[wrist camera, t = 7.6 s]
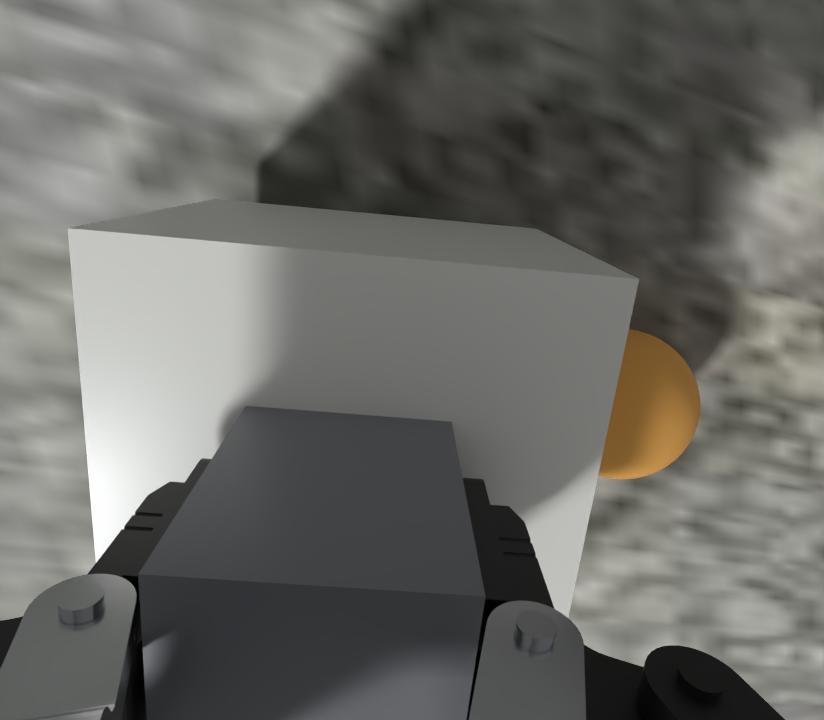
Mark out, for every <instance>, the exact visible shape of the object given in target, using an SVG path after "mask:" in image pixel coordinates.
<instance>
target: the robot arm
mask: <svg viewBox="0 0 824 720" xmlns="http://www.w3.org/2000/svg"><path fill="white" fill-rule="evenodd" d="M210 461H211V459H206V458H202V459H200V461H199V462H198V463H197V465H196V466H195V468H194V469H193V471H192V472H191V474H190V475H189V477H188V478H187V480H186V481H185V483H184V482H168V483H167V484H165V485H163V486H162V487H160V488H159V489H157V490H155V491H154V492H152V493H150V494H149V495H148V496H147V497H146V498H145V500H144V501H143V502H142V503H141V505H140V506H139V507H138V509H137V510H136V511H135V515H132V517H131V518H130V519H129V521H128V522H127V523H126V524H125V527H124V529H122V530H121V531H120V532H119V534H118V535H117V536H116V538H115V539H114V540H113V542H112V543H111V544H110V546H109V547H108V548H107V549H106V551H105V552H104V553H103V555H102V556H101V557H100V559H99V560H98V561H97V563H96V564H95V565H94V567H93V568H92V569H91V570H90V572H89V573H88V574H87V575H82V576H78V577H74V578H71V579H68V580H65V581H62V582H60V583H58V584H56V585H54V586H52V587H50V588H48V589H47V590H45V591H44V592H43V593H41V594H40V595H39V596H37V597H36V598H35V599H34V600H33V601H32V603H31V604H30V605H29V606H28V608H27V610H26V611H25V613H24V616H23V617H19V618H14V619H9V620H3V621H0V720H147V716H146V699H145V682H144V665H143V648H142V631H141V614H140V597H139V580H138V574H139V572H140V570H141V569H142V567H143V566H144V564H145V563H146V561H147V559H148V558H149V556H150V555H151V553H152V552H153V550H154V549H155V547H156V545H157V544H158V542H159V541H160V539H161V538H162V536H163V534H164V533H165V531H166V530H167V528H168V527H169V525H170V523H171V522H172V520H173V519H174V517H175V516H176V514H177V513H178V511H179V509H180V508H181V506H182V505H183V503H184V502H185V500H186V498H187V497H188V495H189V494H190V492H191V491H192V489H193V487H194V486H195V484H196V483H197V481H198V480H199V478H200V476H201V475H202V473H203V472H204V470H205V469H206V467H207V466H208V464H209V462H210ZM463 483H464V488H465V493H466V499H467V504H468V509H469V514H470V519H471V524H472V529H473V534H474V540H475V545H476V550H477V555H478V560H479V565H480V570H481V576H482V581H483V586H484V591H485V596H486V597H485V603H484V610H483V616H482V623H481V629H480V635H479V642H478V648H477V655H476V661H475V667H474V674H473V680H472V687H471V693H470V699H469V706H468V712H467V719H466V720H785V719H784V718H783V717H782V716H780V715H779V714H778V713H777V712H776V711H775V710H774V709H773V708H772V707H771V706H770V705H769V704H768V703H767V702H766V701H765V700H764V699H763V698H762V697H761V696H760V695H759V694H758V693H757V692H756V691H755V690H754V689H752V688H751V687H750V686H749V685H748V684H747V683H746V682H745V681H744V680H743V679H742V678H741V677H740V676H739V675H738V674H737V673H736V672H734V671H733V670H732V669H731V668H730V667H728V666H727V665H726V664H724V663H723V662H721V661H720V660H718V659H716V658H714V657H713V656H711V655H708V654H706V653H704V652H701V651H699V650H696V649H693V648H689V647H684V646H663V647H660V648H657V649H655V650H654V651H652V652H651V653H650V654H649V655H648V657H647V659H646V661H645V665H644V667H641V666H638V665H634V664H631V663H628V662H625V661H621V660H618V659H615V658H612V657H609V656H606V655H603V654H601V653H598V652H596V651H594V650H592V649H590V648H588V647H587V646H585V645H584V643H583V639H582V636H581V633H580V632H579V630H578V628H577V627H576V626H575V625H574V623H573V622H572V621H571V620H570V619H568V618H567V617H566V616H565V615H563V614H562V613H561V612H559V611H557V610H555V609H554V606H553V603H552V600H551V597H550V594H549V591H548V588H547V585H546V583H545V580H544V577H543V574H542V571H541V568H540V565H539V562H538V559H537V558H536V553H535V551H534V548H533V545H532V543H531V539H530V536H529V533H528V530H527V527H526V524H525V522H524V521H523V520H522V519H521V518H520V517H519V516H518V515H517V514H516V513H515V512H514V511H513V510H512V509H511V508H510V507H509V506H501V505H490V502H489V498H488V494H487V490H486V486H485V482H484V480H483V479H474V478H463Z"/></svg>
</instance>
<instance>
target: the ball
mask: <svg viewBox="0 0 824 720" xmlns="http://www.w3.org/2000/svg"><path fill="white" fill-rule="evenodd" d="M699 416H700V395H699V390H698V386H697V383H696V380H695V377H694V375H693V373H692V371H691V369H690V367H689V366H688V364H687V363H686V362H685V360H684V359H683V358H682V357H681V356H680V354H679V353H678V352H677V351H675V350H674V349H673V348H672V347H671V346H669V345H668V344H667V343H665V342H664V341H662V340H661V339H659V338H657V337H655V336H653V335H650V334H647V333H644V332H641V331H637V330H632V329H629V331H628V335H627V340H626V345H625V350H624V354H623V359H622V364H621V369H620V373H619V378H618V383H617V388H616V392H615V397H614V402H613V407H612V411H611V416H610V421H609V426H608V431H607V435H606V440H605V445H604V450H603V454H602V459H601V464H600V469H599V473H598V476H602V477H606V478H612V479H633V478H639V477H643V476H647V475H650V474H652V473H655V472H657V471H659V470H661V469H663V468H665V467H666V466H668V465H669V464H671V463H672V462H673V461H675V460H676V459H677V458H678V457H679V456H680V455H681V454H682V453H683V451H684V450H685V449H686V447H687V446H688V445H689V443H690V442H691V440H692V438H693V436H694V434H695V431H696V428H697V425H698V421H699Z"/></svg>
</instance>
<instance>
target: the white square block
mask: <svg viewBox="0 0 824 720" xmlns="http://www.w3.org/2000/svg"><path fill="white" fill-rule="evenodd" d="M68 237H69V249H70V261H71V272H72V284H73V296H74V308H75V320H76V332H77V343H78V355H79V367H80V379H81V391H82V403H83V415H84V426H85V438H86V450H87V462H88V474H89V486H90V497H91V509H92V521H93V533H94V545H95V557H96V563H97V561H98V560H99V559H100V557H101V556H102V555H103V553H104V552H105V551H106V549H107V548H108V547H109V546H110V544H111V543H112V542H113V540H114V539H115V538H116V536H117V535H118V534H119V532H120V531H121V530H122V529H124V527H125V524H126V523H127V522H128V521H129V519H130V518H131V517H132V515H135V511H136V510H137V509H138V507H139V506H140V505H141V503H142V502H143V501H144V500H145V498H146V497H147V496H148V495H149V494H150V493H152V492H154V491H155V490H157V489H159V488H160V487H162V486H163V485H165V484H167V483H168V482H184V483H185V481H186V480H187V478H188V477H189V475H190V474H191V472H192V471H193V469H194V468H195V466H196V465H197V463H198V462H199V461H200V459H202V458H206V459H211V461H210V462H209V464H208V466H207V467H206V469H205V470H204V472H203V473H202V475H201V476H200V478H199V480H198V481H197V483H196V484H195V486H194V487H193V489H192V491H191V492H190V494H189V495H188V497H187V498H186V500H185V502H184V503H183V505H182V506H181V508H180V509H179V511H178V513H177V514H176V516H175V517H174V519H173V520H172V522H171V523H170V525H169V527H168V528H167V530H166V531H165V533H164V534H163V536H162V538H161V539H160V541H159V542H158V544H157V545H156V547H155V549H154V550H153V552H152V553H151V555H150V556H149V558H148V559H147V561H146V563H145V564H144V566H143V567H142V569H141V570H140V572H139V574H138V580H139V597H140V614H141V631H142V648H143V665H144V682H145V699H146V716H147V720H466V719H467V712H468V706H469V699H470V693H471V687H472V680H473V674H474V667H475V661H476V655H477V648H478V642H479V635H480V629H481V623H482V616H483V610H484V603H485V597H486V596H485V591H484V586H483V581H482V576H481V570H480V565H479V560H478V555H477V550H476V545H475V540H474V534H473V529H472V524H471V519H470V514H469V509H468V504H467V499H466V493H465V488H464V483H463V478H474V479H483V480H484V482H485V486H486V490H487V494H488V498H489V502H490V505H501V506H509V507H510V508H511V509H512V510H513V511H514V512H515V513H516V514H517V515H518V516H519V517H520V518H521V519H522V520H523V521H524V522H525V524H526V527H527V530H528V533H529V536H530V539H531V543H532V545H533V548H534V551H535V553H536V558H537V559H538V562H539V565H540V568H541V571H542V574H543V577H544V580H545V583H546V585H547V588H548V591H549V594H550V597H551V600H552V603H553V606H554V609H555V610H557V611H559V612H561V613H562V614H563V615H565V616H566V617H567V618H568V616H569V611H570V607H571V602H572V597H573V592H574V588H575V583H576V578H577V573H578V568H579V564H580V559H581V554H582V549H583V545H584V540H585V535H586V530H587V526H588V521H589V516H590V511H591V507H592V502H593V497H594V492H595V488H596V483H597V478H598V473H599V469H600V464H601V459H602V454H603V450H604V445H605V440H606V435H607V431H608V426H609V421H610V416H611V411H612V407H613V402H614V397H615V392H616V388H617V383H618V378H619V373H620V369H621V364H622V359H623V354H624V350H625V345H626V340H627V335H628V331H629V326H630V321H631V316H632V312H633V307H634V302H635V297H636V293H637V288H638V283H639V279H638V278H636V277H634V276H632V275H630V274H628V273H626V272H624V271H622V270H620V269H618V268H616V267H614V266H612V265H610V264H608V263H606V262H604V261H602V260H599V259H597V258H595V257H593V256H591V255H589V254H587V253H585V252H583V251H581V250H579V249H577V248H575V247H573V246H571V245H569V244H567V243H565V242H563V241H561V240H559V239H557V238H555V237H552V236H550V235H548V234H546V233H544V232H542V231H540V230H538V229H535V228H525V227H514V226H503V225H492V224H481V223H470V222H459V221H449V220H438V219H427V218H416V217H405V216H394V215H383V214H373V213H362V212H351V211H340V210H329V209H318V208H308V207H297V206H286V205H275V204H264V203H253V202H242V201H232V200H221V199H213V200H208V201H203V202H198V203H193V204H188V205H182V206H177V207H172V208H167V209H162V210H157V211H152V212H147V213H142V214H137V215H132V216H127V217H122V218H117V219H111V220H106V221H101V222H96V223H91V224H86V225H81V226H76V227H71V228H68Z"/></svg>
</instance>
